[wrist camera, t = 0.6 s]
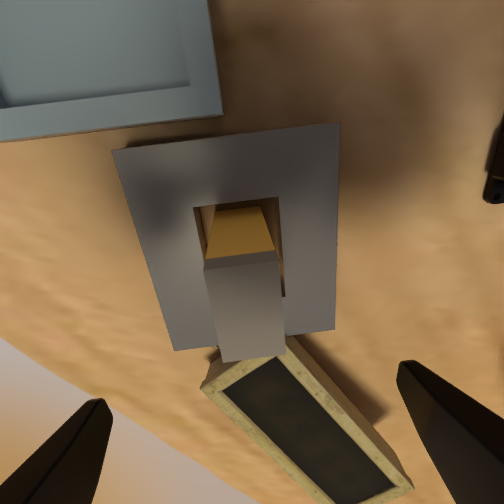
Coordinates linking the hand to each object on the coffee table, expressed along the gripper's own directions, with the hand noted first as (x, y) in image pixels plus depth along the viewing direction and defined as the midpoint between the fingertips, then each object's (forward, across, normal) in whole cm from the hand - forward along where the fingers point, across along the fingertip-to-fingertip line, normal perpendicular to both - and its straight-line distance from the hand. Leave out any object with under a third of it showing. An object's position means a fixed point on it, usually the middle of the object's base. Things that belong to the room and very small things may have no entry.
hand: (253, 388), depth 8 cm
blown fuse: (+12, 0, 0) cm, 12 cm away
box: (+12, -3, +15) cm, 20 cm away
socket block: (+12, 0, 0) cm, 12 cm away
